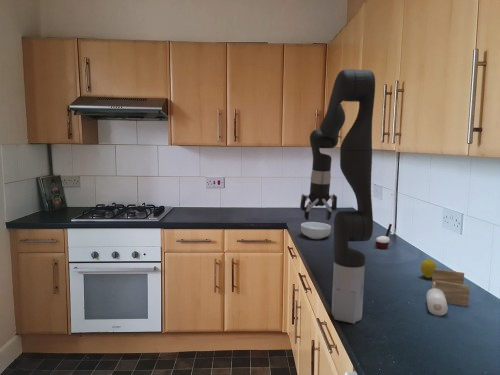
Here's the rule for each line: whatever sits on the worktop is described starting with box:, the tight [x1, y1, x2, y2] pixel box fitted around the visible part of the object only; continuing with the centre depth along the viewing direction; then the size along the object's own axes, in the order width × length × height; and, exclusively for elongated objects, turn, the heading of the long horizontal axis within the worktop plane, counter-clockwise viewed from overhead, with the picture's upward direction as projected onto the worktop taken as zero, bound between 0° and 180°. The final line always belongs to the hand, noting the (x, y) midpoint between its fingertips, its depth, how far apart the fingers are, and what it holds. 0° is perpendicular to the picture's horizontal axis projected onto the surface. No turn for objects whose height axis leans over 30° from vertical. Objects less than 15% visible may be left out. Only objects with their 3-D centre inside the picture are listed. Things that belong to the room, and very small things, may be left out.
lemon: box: [420, 258, 437, 279], centre depth 143 cm, size 6×6×8 cm
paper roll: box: [426, 288, 449, 317], centre depth 117 cm, size 9×6×6 cm, turn 156°
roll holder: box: [431, 268, 471, 307], centre depth 127 cm, size 13×10×7 cm
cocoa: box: [374, 223, 393, 250], centre depth 182 cm, size 10×6×12 cm, turn 91°
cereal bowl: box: [300, 221, 332, 240], centre depth 200 cm, size 17×17×7 cm
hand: (317, 219), depth 145 cm, fingers open, 8 cm apart
